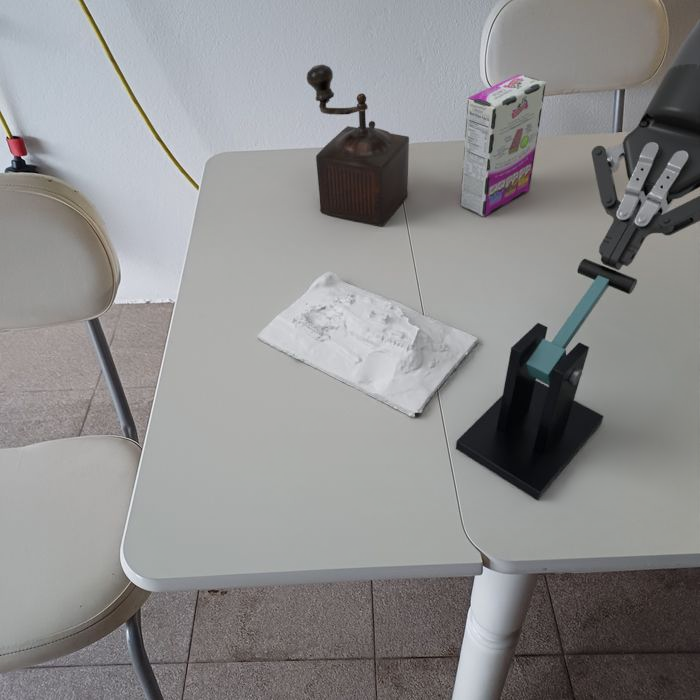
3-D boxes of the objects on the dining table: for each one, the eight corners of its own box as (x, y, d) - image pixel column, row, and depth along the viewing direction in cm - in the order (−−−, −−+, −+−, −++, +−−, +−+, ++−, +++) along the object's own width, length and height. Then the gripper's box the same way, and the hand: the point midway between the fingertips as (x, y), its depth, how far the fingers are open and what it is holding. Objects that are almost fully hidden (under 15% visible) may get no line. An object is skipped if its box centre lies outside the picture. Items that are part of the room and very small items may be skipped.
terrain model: (318, 283, 85) (314, 250, 81) (486, 328, 75) (489, 293, 72) (244, 359, 74) (235, 325, 71) (428, 423, 65) (429, 387, 61)
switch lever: (585, 267, 61) (585, 252, 59) (636, 287, 58) (638, 273, 56) (514, 367, 59) (511, 356, 56) (564, 393, 56) (563, 382, 54)
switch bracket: (522, 381, 69) (540, 293, 61) (601, 423, 64) (632, 334, 56) (455, 448, 62) (466, 360, 54) (537, 500, 58) (562, 412, 50)
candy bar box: (503, 180, 101) (518, 72, 90) (530, 191, 98) (549, 81, 87) (456, 206, 96) (466, 95, 85) (483, 218, 93) (497, 105, 82)
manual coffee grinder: (411, 192, 99) (415, 72, 87) (383, 228, 92) (383, 102, 80) (322, 174, 104) (313, 58, 92) (288, 207, 97) (274, 86, 85)
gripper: (630, 46, 56) (533, 226, 58) (797, 80, 49) (680, 284, 51) (641, 89, 62) (553, 250, 64) (789, 125, 56) (686, 304, 58)
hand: (610, 265), depth 58 cm, fingers closed
